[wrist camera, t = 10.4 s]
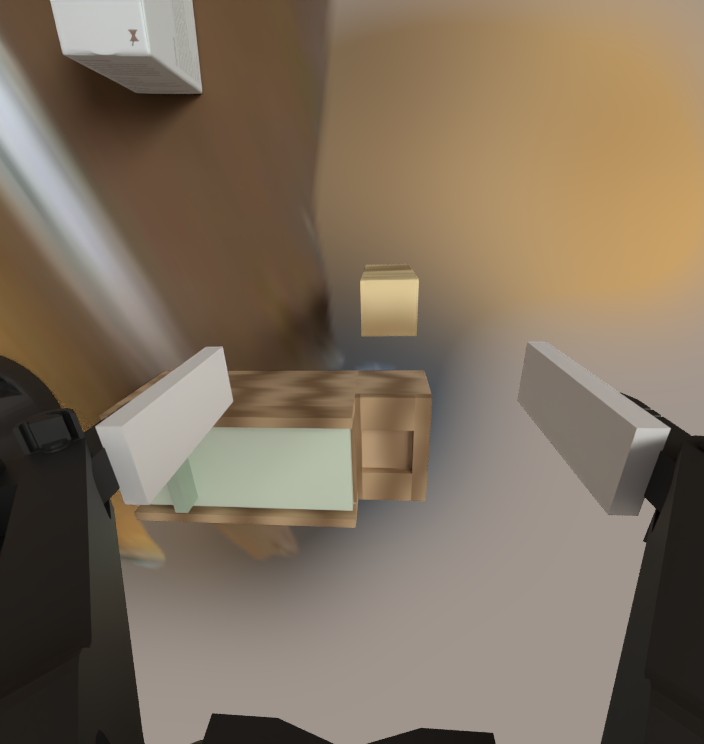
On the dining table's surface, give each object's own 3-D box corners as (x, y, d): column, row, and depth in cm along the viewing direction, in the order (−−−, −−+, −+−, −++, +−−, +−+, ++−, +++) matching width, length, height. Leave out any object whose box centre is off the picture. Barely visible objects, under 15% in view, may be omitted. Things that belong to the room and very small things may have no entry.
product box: (194, -3, 26) (131, -80, 20) (204, 96, 29) (151, 57, 22) (117, -4, 27) (28, -80, 20) (133, 94, 29) (59, 55, 22)
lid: (146, 496, 36) (127, 519, 33) (120, 419, 32) (96, 437, 29) (353, 502, 34) (351, 527, 31) (350, 422, 30) (347, 441, 28)
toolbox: (187, 457, 44) (137, 519, 35) (164, 370, 39) (98, 415, 30) (419, 462, 41) (430, 530, 32) (424, 370, 37) (438, 419, 28)
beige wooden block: (365, 265, 33) (360, 280, 24) (408, 263, 33) (418, 279, 24) (366, 306, 35) (361, 336, 25) (406, 305, 34) (416, 335, 25)
